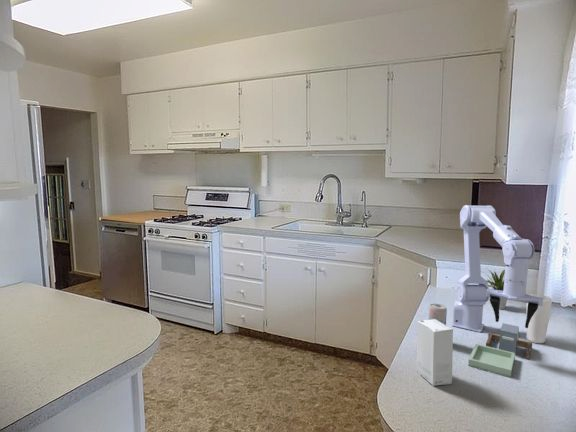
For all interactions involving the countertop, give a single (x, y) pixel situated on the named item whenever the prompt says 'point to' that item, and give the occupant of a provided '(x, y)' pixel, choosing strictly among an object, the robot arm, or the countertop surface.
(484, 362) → the tray
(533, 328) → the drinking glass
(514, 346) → the grey box with handle
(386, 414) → the countertop surface
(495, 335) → the frame
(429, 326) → the skincare box
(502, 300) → the house plant
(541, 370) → the countertop surface
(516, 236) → the robot arm
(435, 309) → the energy drink
